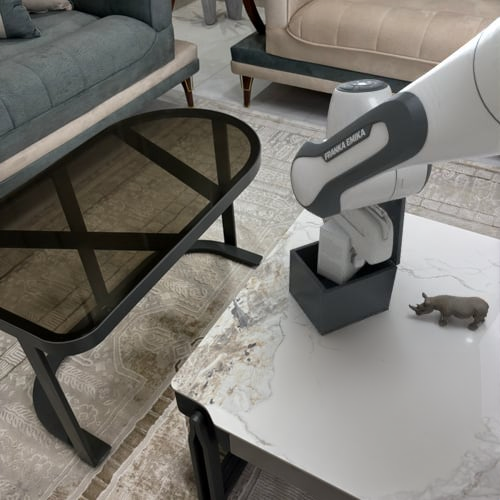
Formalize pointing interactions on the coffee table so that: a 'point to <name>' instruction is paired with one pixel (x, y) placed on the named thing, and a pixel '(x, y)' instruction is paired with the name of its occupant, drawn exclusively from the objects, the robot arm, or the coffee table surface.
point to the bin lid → (395, 225)
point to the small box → (335, 253)
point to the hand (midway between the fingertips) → (343, 250)
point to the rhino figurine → (454, 308)
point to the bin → (338, 290)
